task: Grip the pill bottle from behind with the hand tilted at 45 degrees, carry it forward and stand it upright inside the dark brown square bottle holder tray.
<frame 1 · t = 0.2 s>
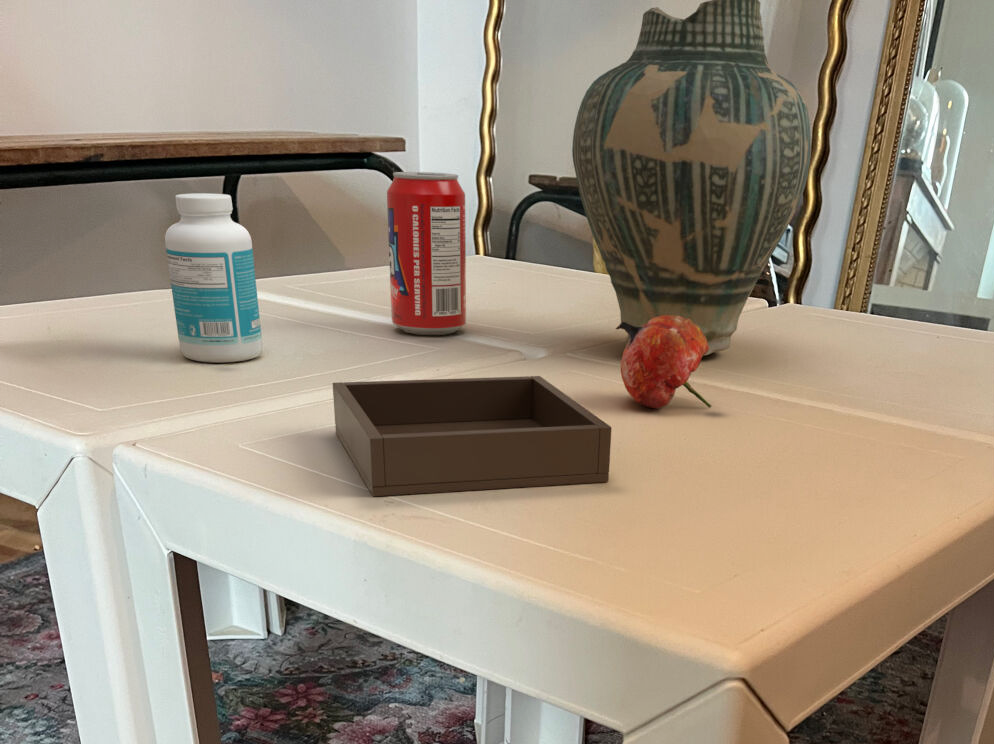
holder: (464, 456, 78), on the table
vase: (674, 355, 114), on the table
pill bottle: (222, 358, 104), on the table
soda can: (429, 332, 120), on the table
red bell pepper: (663, 407, 94), on the table
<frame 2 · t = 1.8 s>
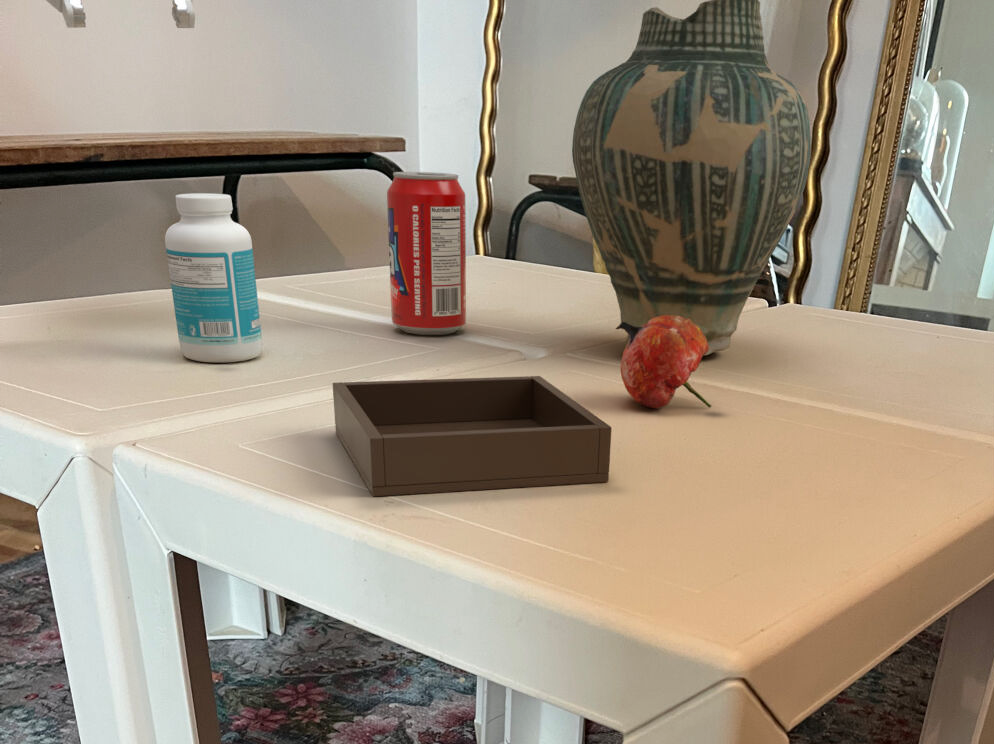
hand: (133, 22, 98), 26 cm above the table, tool tilted 45°, fingers open, 8 cm apart
nothing on the table moved.
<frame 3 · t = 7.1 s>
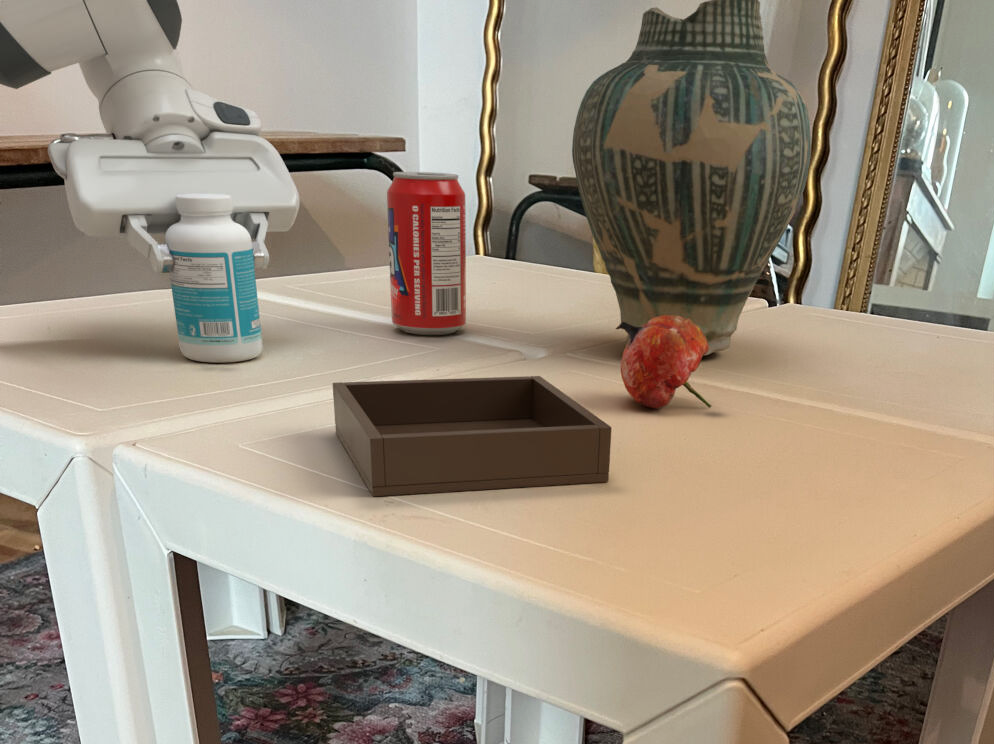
hand: (214, 266, 100), 8 cm above the table, tool tilted 45°, fingers closed on pill bottle, 7 cm apart
pill bottle: (222, 358, 104), on the table, touching gripper
everything else where it was.
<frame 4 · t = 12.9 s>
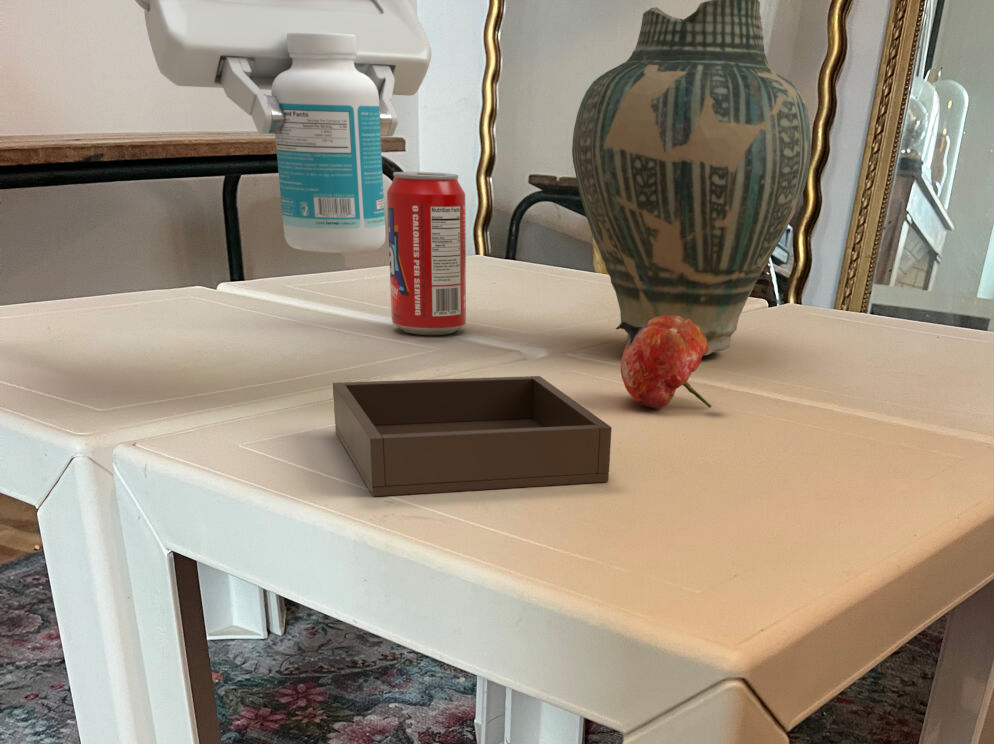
hand: (332, 128, 79), 19 cm above the table, tool tilted 45°, fingers closed on pill bottle, 7 cm apart
pill bottle: (335, 251, 84), point 11 cm above the table, touching gripper
everything else where it was.
when the fingers open (8 cm above the table, at t = 18.9 s): pill bottle stays where it is, resting on holder.
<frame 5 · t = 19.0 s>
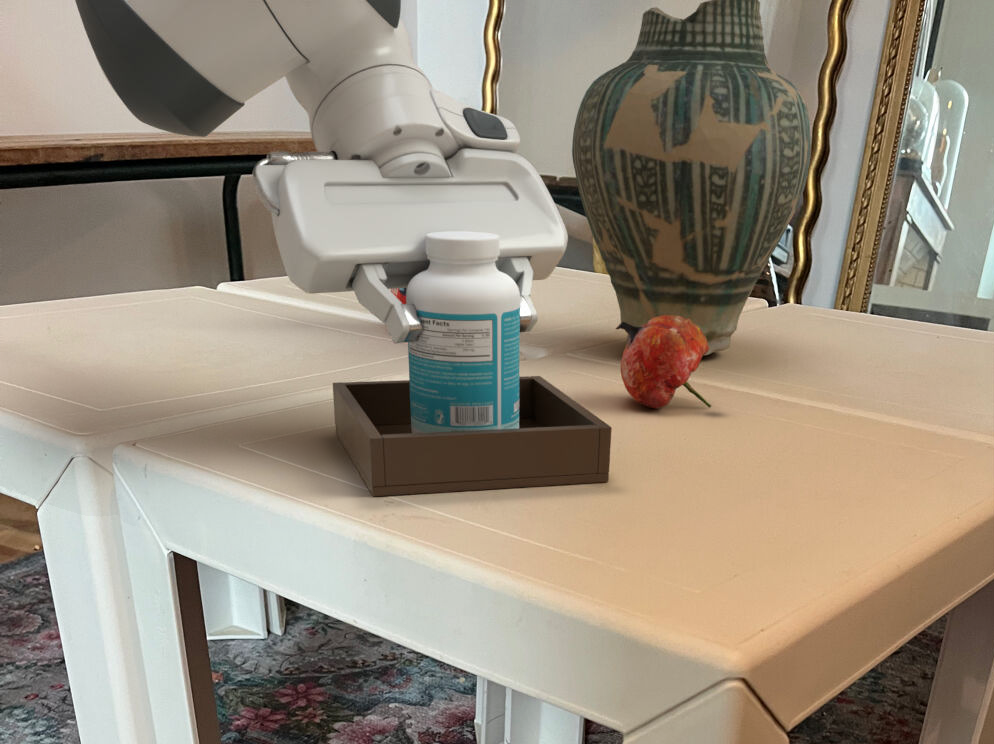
hand: (469, 332, 73), 8 cm above the table, tool tilted 45°, fingers open, 7 cm apart
pill bottle: (465, 450, 78), resting on holder
everything else where it was.
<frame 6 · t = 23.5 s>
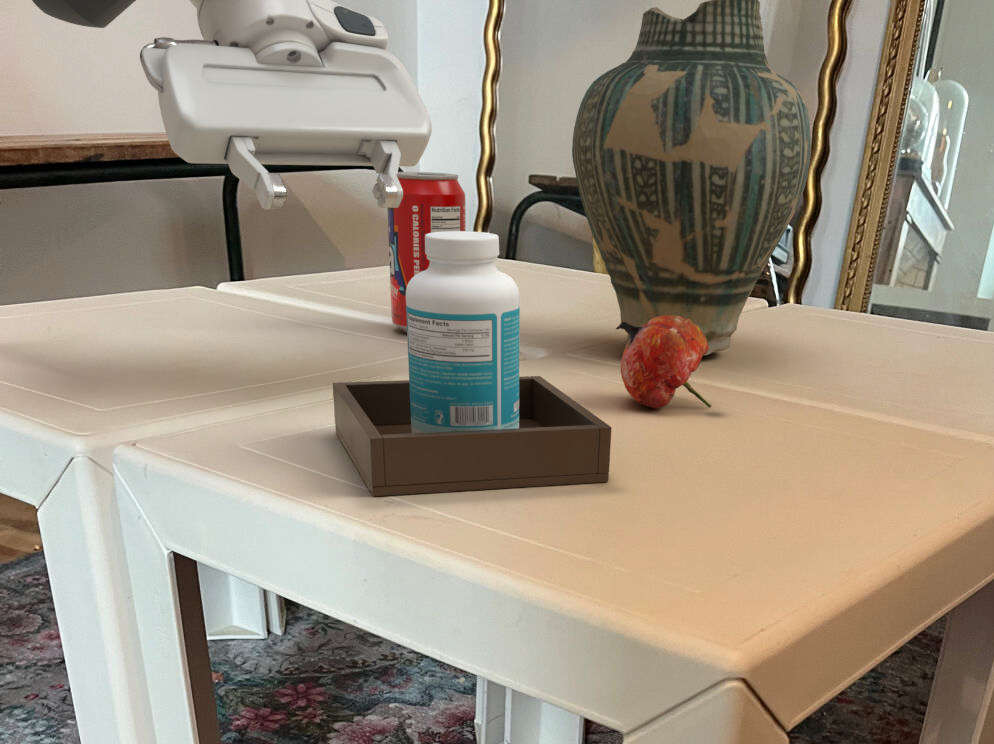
hand: (335, 202, 83), 15 cm above the table, tool tilted 45°, fingers open, 8 cm apart
nothing on the table moved.
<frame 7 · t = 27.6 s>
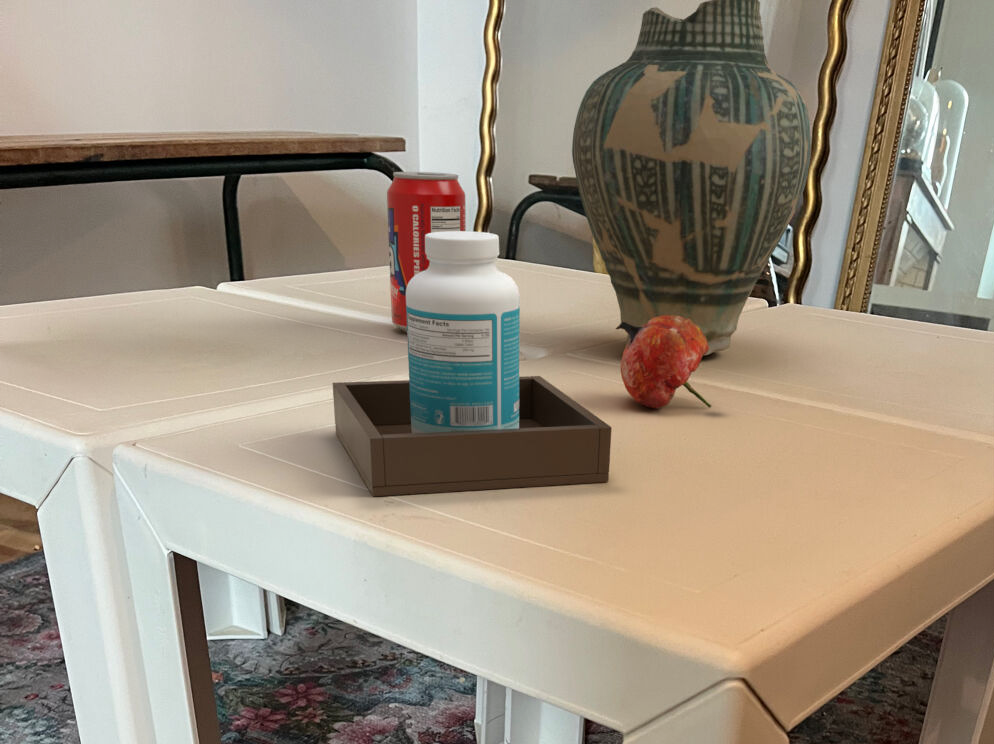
nothing on the table moved.
at the end: pill bottle inside the target area in the holder (0.0 cm from its centre), point 0.4 cm above the holder's base; pill bottle tilted 0°; the gripper is holding nothing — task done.
